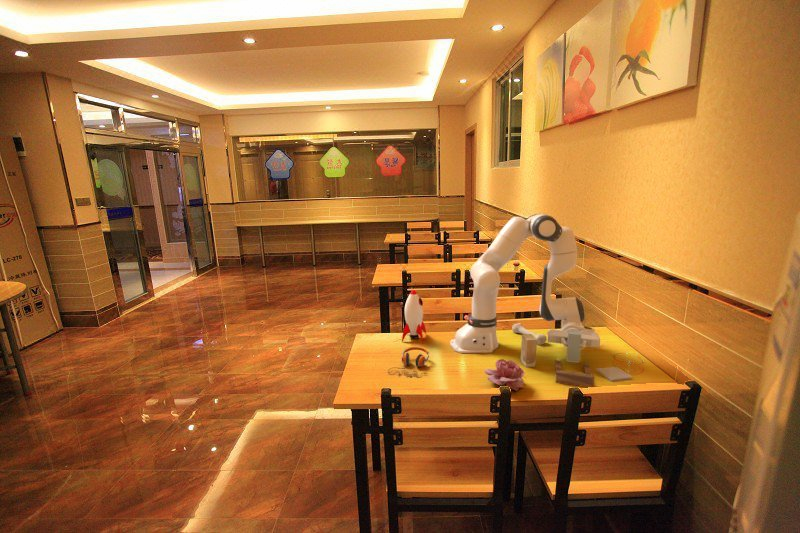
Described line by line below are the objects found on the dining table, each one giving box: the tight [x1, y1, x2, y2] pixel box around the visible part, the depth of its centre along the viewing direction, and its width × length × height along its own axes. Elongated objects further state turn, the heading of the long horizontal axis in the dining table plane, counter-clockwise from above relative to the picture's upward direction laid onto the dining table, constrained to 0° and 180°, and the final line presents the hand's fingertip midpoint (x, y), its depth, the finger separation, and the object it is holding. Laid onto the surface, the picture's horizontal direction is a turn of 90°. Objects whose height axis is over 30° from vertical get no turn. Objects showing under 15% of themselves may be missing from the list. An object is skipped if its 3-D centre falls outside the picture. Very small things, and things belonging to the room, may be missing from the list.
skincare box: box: [520, 334, 538, 368], centre depth 169 cm, size 6×4×12 cm
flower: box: [484, 358, 526, 392], centre depth 152 cm, size 15×15×10 cm
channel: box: [554, 359, 595, 388], centre depth 160 cm, size 18×13×4 cm
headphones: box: [387, 345, 430, 378], centre depth 170 cm, size 17×5×20 cm
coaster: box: [595, 366, 633, 382], centre depth 159 cm, size 9×9×1 cm
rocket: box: [401, 289, 427, 343], centre depth 198 cm, size 11×11×25 cm
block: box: [566, 330, 581, 364], centre depth 164 cm, size 4×4×12 cm
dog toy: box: [511, 322, 548, 346], centre depth 197 cm, size 20×6×5 cm, turn 23°
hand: (573, 345), depth 163 cm, fingers closed on block, 4 cm apart
